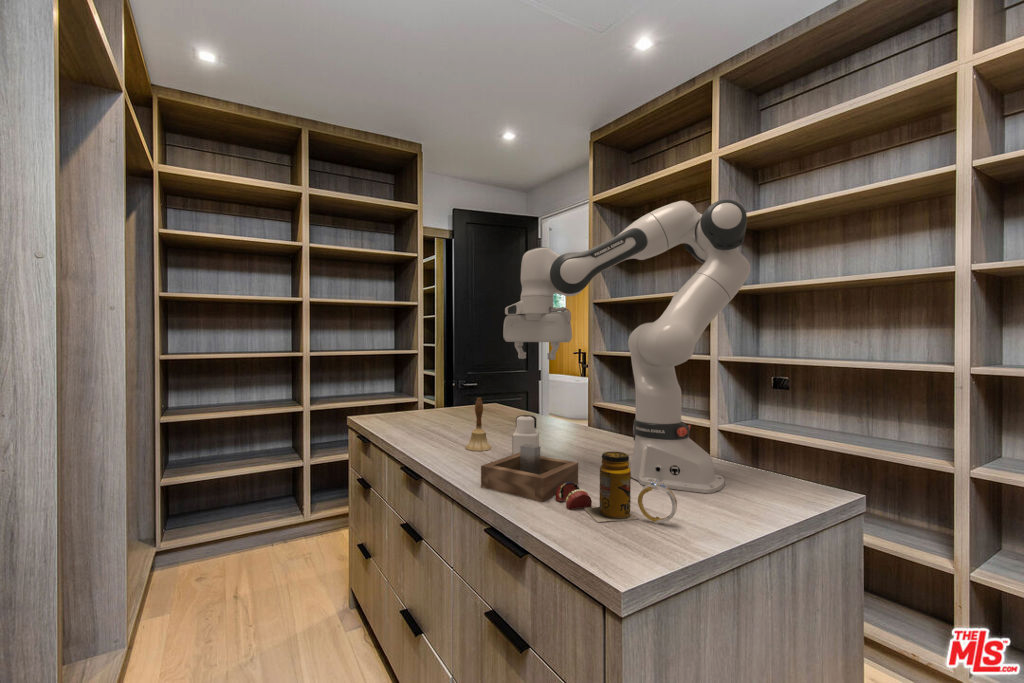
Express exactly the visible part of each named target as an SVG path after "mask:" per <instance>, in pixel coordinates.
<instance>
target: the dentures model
mask: <svg viewBox="0 0 1024 683" xmlns="http://www.w3.org/2000/svg"><path fill="white" fill-rule="evenodd" d="M564 501H565V508H566V509H567V510H573V509H580V508H587V507H590V508H591V507H592V504H593V503H592V502H593V501H592V498H591V497H590V495H589V494H588V492H587V491H586V490H585V489H582V488H580V487H579V486H578V484H575V483H572V482H569V483H568V482H567V483H563V484H561V485H560V486H559V487H558V489H557V491H556V495H555V502H564Z"/></svg>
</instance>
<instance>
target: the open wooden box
mask: <svg viewBox="0 0 1024 683" xmlns="http://www.w3.org/2000/svg"><path fill="white" fill-rule="evenodd" d="M540 474H541V475H539V474H534V473H529V472H524V471H520V453H517V454H514V455H512V454H511V455H509V456H506V457H503V458H500V459H497V460H495V461H491V462H488V463H485V464H482V465H480V487H481V488H483V489H487V490H491V491H496V492H500V493H504V494H509V495H513V496H516V497H521V498H523V499H524V498H525V499H529V500H534V501H538V502H542V503H544V502H546V501H547V500H550V499H551V498H554V497H556V491H557V489H558V487H559V486H560V485H561V484H563V483H567V482H568V483H569V482H572V483H575V484H577V485H578V484H579V462H577V461H571V460H566V459H561V458H560V459H559V458H554V457H553V458H552V457H548V456H542V455H540Z"/></svg>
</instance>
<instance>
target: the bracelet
mask: <svg viewBox="0 0 1024 683" xmlns="http://www.w3.org/2000/svg"><path fill="white" fill-rule="evenodd" d="M664 483H665V482H663V483H662V481H661V480H660V482H659V481H658V480H657V479H656V481H655V482H653V483H652V480H651V481H650V484H648V485H644V487H643V488H642V489H641V491H640V492H639V494H638V496H637V504H638V507H639V511H640V512H641V513H642V515H643V516H644V517H645V518H647V519H648V520H649V521H650V522H653V523H654V524H658V525H659V524H662V523H663V524H664V523H666V522H669V521H670V520H671V519H673V517H674V516H675V514H676V512H677V509H678V501H677V500H678V499H677V498H676V495H675V493H674V492H673V491H672V489H670V488H667V485H668V484H666V485H665V486H664ZM653 490H659V491H660V490H661V491H662V492H665V493H666V494H667V495H668V497H669V499H670V501H671V506H672V508H671V511H670V513H669V515H668V516H666V517H663V518H662V517H660V516H653V515H651V514H650V513H649V512H648V511H647V510H646V508H645V506H644V502H643V501H644V500H643V498H644V496H645V494H647V493H649V492H652V491H653Z"/></svg>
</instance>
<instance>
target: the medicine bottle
mask: <svg viewBox="0 0 1024 683" xmlns="http://www.w3.org/2000/svg"><path fill="white" fill-rule="evenodd" d="M525 444H529V445H535V446H540V431H539V430H537V417H536V416H534V415H529V414H521V415H517V417H516V418H515V431H514V432H513V434H512V450H511V451H512V454H511V455H514V454H517V453H520V446H522V445H525Z"/></svg>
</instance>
